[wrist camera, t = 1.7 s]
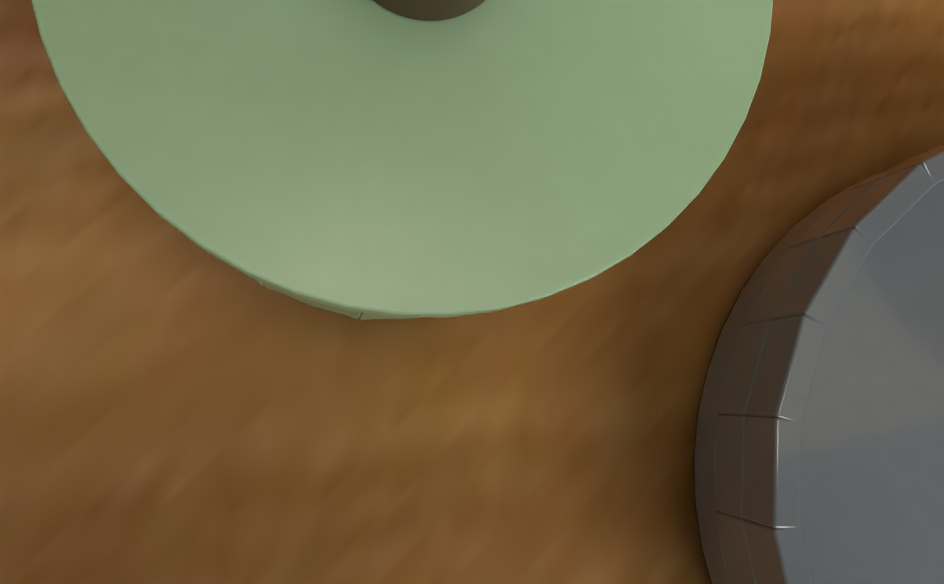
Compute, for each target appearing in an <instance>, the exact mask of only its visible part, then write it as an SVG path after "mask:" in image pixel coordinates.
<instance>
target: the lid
mask: <svg viewBox="0 0 944 584" xmlns="http://www.w3.org/2000/svg"><path fill="white" fill-rule="evenodd" d="M32 4H33V9H34V13H35V17H36V21H37V25H38V29H39V33H40V37H41V40H42V42H43V45H44V47H45V50H46V52H47V55H48V57H49V60H50V62H51V65H52V67H53V70H54V72H55V75H56V77H57V80H58V82H59V85H60V87H61V89H62V91H63V92H64V94H65V96H66V98H67V99H68V101H69V103H70V105H71V106H72V108H73V110H74V112H75V113H76V115H77V117H78V119H79V120H80V122H81V124H82V126H83V128H84V129H85V131H86V133H87V134H88V135H89V137H90V138H91V139H92V140H93V142H94V143H95V144H96V146H97V147H98V148H99V150H100V151H101V152H102V154H103V155H104V156H105V158H106V159H107V160H108V161H109V163H110V164H111V165H112V167H113V168H114V169H115V171H116V172H117V173H118V175H119V176H120V177H121V178H122V179H123V180H124V181H125V182H126V183H127V184H128V185H129V186H130V187H131V188H132V189H133V190H134V191H135V192H136V193H137V194H138V195H139V196H140V197H141V198H142V199H143V200H144V201H145V202H146V203H147V204H148V205H149V206H150V207H151V208H152V209H153V210H154V211H155V212H156V213H157V214H158V215H159V216H160V217H161V218H162V219H163V220H165V221H166V222H167V223H169V224H170V225H171V226H172V227H174V228H175V229H176V230H178V231H179V232H180V233H182V234H183V235H184V236H185V237H187V238H188V239H189V240H191V241H192V242H193V243H195V244H196V245H197V246H198V247H200V248H201V249H202V250H204V251H206V252H207V253H209V254H211V255H213V256H214V257H216V258H218V259H219V260H221V261H223V262H225V263H226V264H228V265H230V266H231V267H233V268H235V269H237V270H238V271H240V272H242V273H244V274H245V275H247V276H249V277H251V278H254V279H256V280H258V281H261V282H263V283H265V284H268V285H270V286H273V287H275V288H277V289H280V290H282V291H285V292H287V293H289V294H292V295H294V296H297V297H300V298H304V299H307V300H311V301H315V302H318V303H322V304H326V305H329V306H333V307H337V308H340V309H344V310H349V311H356V312H363V313H370V314H377V315H384V316H392V317H433V318H447V317H455V316H463V315H471V314H479V313H488V312H495V311H499V310H503V309H507V308H510V307H514V306H518V305H522V304H526V303H529V302H533V301H537V300H541V299H543V298H546V297H548V296H551V295H553V294H555V293H558V292H560V291H563V290H565V289H568V288H570V287H572V286H575V285H577V284H580V283H582V282H584V281H587V280H589V279H591V278H593V277H595V276H597V275H598V274H600V273H602V272H603V271H605V270H607V269H608V268H610V267H612V266H614V265H615V264H617V263H619V262H620V261H622V260H624V259H626V258H627V257H629V256H631V255H632V254H633V253H635V252H636V251H637V250H639V249H640V248H641V247H642V246H644V245H645V244H646V243H647V242H649V241H650V240H651V239H652V238H654V237H655V236H656V235H658V234H659V233H660V232H661V231H663V230H664V229H665V228H666V227H668V226H669V225H670V224H671V222H672V221H673V220H674V219H675V218H676V217H677V216H678V215H679V214H680V213H681V212H682V211H683V210H684V209H685V208H686V207H687V206H688V205H689V204H690V203H691V202H692V201H693V200H694V198H695V197H696V196H697V195H698V194H699V193H700V192H701V190H702V189H703V187H704V186H705V185H706V183H707V182H708V181H709V179H710V178H711V176H712V175H713V174H714V172H715V171H716V169H717V168H718V167H719V165H720V164H721V163H722V161H723V160H724V158H725V157H726V155H727V153H728V151H729V149H730V147H731V145H732V143H733V142H734V140H735V138H736V136H737V134H738V132H739V130H740V128H741V126H742V125H743V123H744V121H745V119H746V116H747V113H748V111H749V108H750V105H751V103H752V100H753V97H754V94H755V92H756V89H757V86H758V83H759V81H760V78H761V73H762V69H763V64H764V60H765V55H766V51H767V46H768V42H769V37H770V30H771V18H772V6H773V0H32Z"/></svg>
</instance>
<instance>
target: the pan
mask: <svg viewBox="0 0 944 584" xmlns="http://www.w3.org/2000/svg"><path fill="white" fill-rule="evenodd" d="M694 468H695V499H696V510H697V517H698V523H699V529H700V536H701V542H702V549H703V553H704V557H705V560H706V564H707V568H708V571H709V575H710V578H711V582H712V584H944V144H943V145H940V146H938V147H935V148H933V149H930V150H928V151H925V152H923V153H920V154H918V155H916V156H914V157H912V158H910V159H908V160H906V161H904V162H902V163H900V164H898V165H896V166H894V167H892V168H890V169H887V170H885V171H883V172H880V173H878V174H876V175H873V176H871V177H868V178H866V179H864V180H861V181H859V182H856V183H854V184H853V185H851V186H849V187H848V188H846V189H844V190H843V191H841V192H839V193H838V194H836V195H834V196H833V197H831V198H829V199H828V200H826V201H824V202H823V203H821V204H820V205H819V206H818V207H817V208H815V209H814V210H813V211H812V212H810V213H809V214H808V215H807V216H806V217H804V218H803V219H802V220H801V221H799V222H798V223H797V224H796V225H795V226H793V227H792V228H791V229H790V230H789V232H788V233H787V234H786V235H785V236H784V237H783V238H782V239H781V240H780V241H779V242H778V243H777V245H776V246H775V247H774V248H773V249H772V250H771V251H770V252H769V253H768V254H767V255H766V257H765V258H764V259H763V261H762V262H761V264H760V265H759V267H758V268H757V269H756V271H755V272H754V274H753V275H752V277H751V278H750V280H749V281H748V282H747V284H746V285H745V287H744V288H743V290H742V291H741V293H740V295H739V297H738V299H737V301H736V303H735V305H734V307H733V309H732V311H731V313H730V315H729V317H728V319H727V321H726V323H725V325H724V327H723V328H722V331H721V334H720V337H719V340H718V342H717V345H716V348H715V351H714V354H713V357H712V359H711V362H710V365H709V368H708V371H707V376H706V380H705V385H704V389H703V394H702V399H701V403H700V408H699V412H698V422H697V433H696V444H695V455H694Z"/></svg>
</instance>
